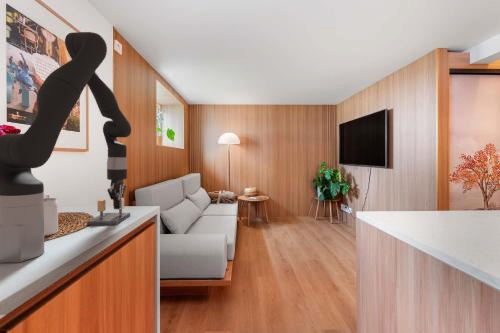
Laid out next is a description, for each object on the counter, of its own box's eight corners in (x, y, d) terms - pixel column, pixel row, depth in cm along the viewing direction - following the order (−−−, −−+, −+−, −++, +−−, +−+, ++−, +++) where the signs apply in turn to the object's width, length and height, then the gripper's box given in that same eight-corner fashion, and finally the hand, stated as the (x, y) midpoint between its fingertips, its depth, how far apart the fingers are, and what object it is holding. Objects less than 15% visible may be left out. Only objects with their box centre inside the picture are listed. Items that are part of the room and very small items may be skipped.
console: (116, 224, 99) (116, 221, 99) (87, 225, 98) (87, 221, 98) (130, 215, 114) (130, 212, 114) (104, 216, 113) (104, 212, 113)
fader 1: (102, 217, 104) (102, 200, 103) (97, 217, 103) (97, 200, 103) (105, 215, 106) (105, 199, 106) (100, 215, 106) (100, 199, 106)
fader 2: (121, 214, 108) (121, 199, 108) (116, 214, 108) (117, 199, 108) (124, 213, 111) (124, 198, 111) (119, 213, 111) (119, 198, 110)
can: (62, 231, 90) (62, 198, 89) (46, 237, 83) (46, 201, 83) (46, 230, 90) (46, 197, 90) (28, 236, 84) (28, 200, 83)
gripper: (120, 169, 99) (120, 212, 99) (132, 167, 112) (132, 205, 112) (100, 168, 98) (100, 212, 98) (114, 167, 111) (114, 205, 112)
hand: (117, 208), depth 105 cm, fingers closed
